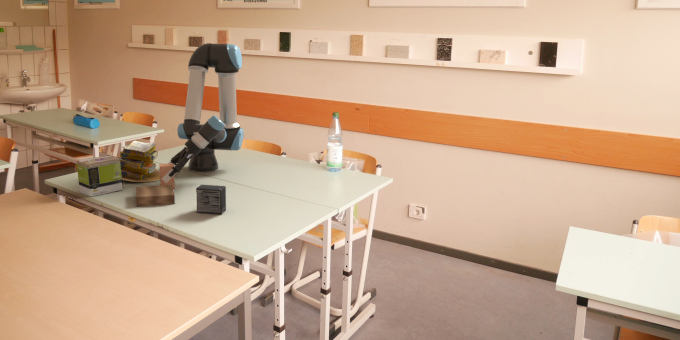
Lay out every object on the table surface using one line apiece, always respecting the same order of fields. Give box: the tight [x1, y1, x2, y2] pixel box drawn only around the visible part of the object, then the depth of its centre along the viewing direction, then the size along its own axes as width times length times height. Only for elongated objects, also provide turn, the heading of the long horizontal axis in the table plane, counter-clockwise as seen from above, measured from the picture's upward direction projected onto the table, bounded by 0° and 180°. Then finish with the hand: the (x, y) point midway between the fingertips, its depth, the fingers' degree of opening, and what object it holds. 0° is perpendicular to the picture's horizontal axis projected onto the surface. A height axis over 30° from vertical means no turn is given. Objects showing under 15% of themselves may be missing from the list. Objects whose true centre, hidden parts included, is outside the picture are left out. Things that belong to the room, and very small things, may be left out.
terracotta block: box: [159, 163, 176, 190], centre depth 246 cm, size 6×5×11 cm
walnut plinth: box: [135, 185, 176, 207], centre depth 230 cm, size 15×15×4 cm
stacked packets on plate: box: [117, 140, 160, 183], centre depth 261 cm, size 25×25×17 cm
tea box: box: [76, 154, 123, 197], centre depth 236 cm, size 15×10×15 cm, turn 141°
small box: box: [195, 184, 227, 215], centre depth 218 cm, size 11×6×10 cm, turn 84°
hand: (163, 177), depth 245 cm, fingers open, 13 cm apart
